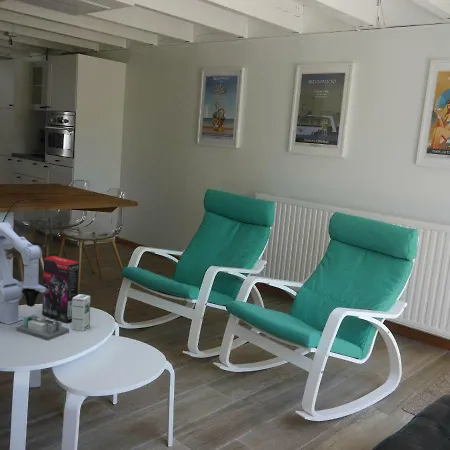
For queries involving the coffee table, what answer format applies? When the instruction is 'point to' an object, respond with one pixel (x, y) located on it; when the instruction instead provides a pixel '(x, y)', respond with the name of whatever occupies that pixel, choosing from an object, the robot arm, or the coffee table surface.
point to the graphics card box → (59, 287)
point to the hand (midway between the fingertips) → (30, 305)
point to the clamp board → (44, 334)
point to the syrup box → (81, 312)
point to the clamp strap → (42, 320)
